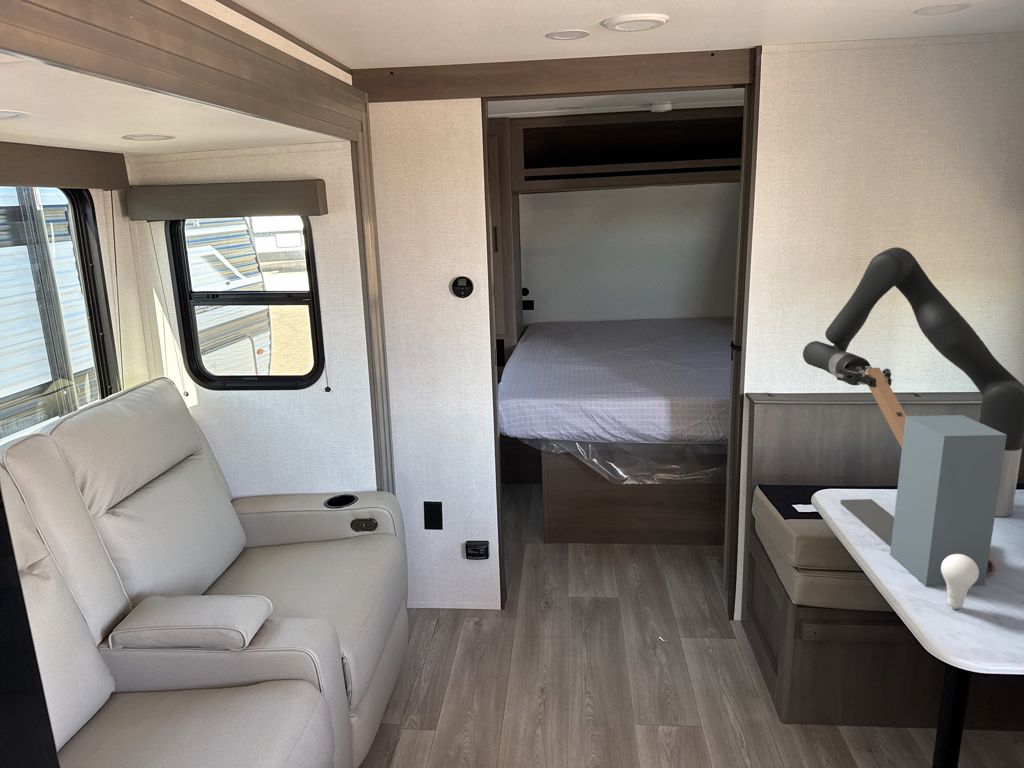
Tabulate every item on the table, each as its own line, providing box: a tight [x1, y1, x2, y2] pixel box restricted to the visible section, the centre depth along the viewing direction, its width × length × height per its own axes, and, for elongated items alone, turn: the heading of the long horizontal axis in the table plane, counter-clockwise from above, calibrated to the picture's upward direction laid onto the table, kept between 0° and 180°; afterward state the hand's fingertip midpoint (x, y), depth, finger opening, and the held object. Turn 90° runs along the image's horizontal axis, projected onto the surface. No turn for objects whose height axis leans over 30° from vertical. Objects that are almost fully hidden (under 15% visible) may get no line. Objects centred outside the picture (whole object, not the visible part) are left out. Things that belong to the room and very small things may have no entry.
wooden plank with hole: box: [865, 367, 908, 449], centre depth 169 cm, size 24×3×3 cm
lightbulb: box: [941, 554, 979, 610], centre depth 137 cm, size 6×6×11 cm
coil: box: [986, 549, 997, 579], centre depth 156 cm, size 5×5×18 cm
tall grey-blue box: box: [889, 414, 1007, 588], centre depth 149 cm, size 14×12×32 cm
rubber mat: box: [840, 498, 894, 548], centre depth 175 cm, size 26×8×1 cm, turn 0°
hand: (881, 382), depth 173 cm, fingers closed on wooden plank with hole, 3 cm apart
